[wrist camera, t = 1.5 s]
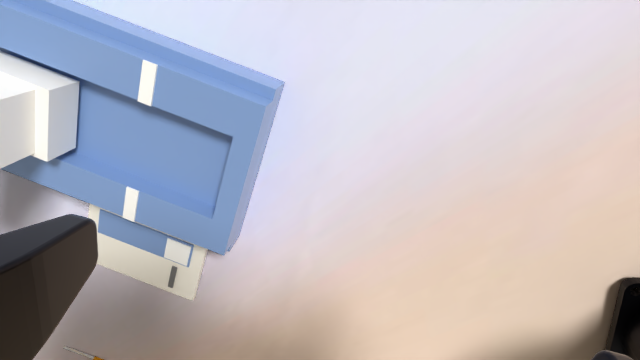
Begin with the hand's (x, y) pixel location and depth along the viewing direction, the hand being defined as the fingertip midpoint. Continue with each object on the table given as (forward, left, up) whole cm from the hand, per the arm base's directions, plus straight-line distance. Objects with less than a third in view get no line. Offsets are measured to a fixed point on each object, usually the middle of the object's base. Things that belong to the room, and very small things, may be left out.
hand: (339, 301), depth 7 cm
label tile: (-7, +14, -13) cm, 20 cm away
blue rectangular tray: (+1, +13, -13) cm, 18 cm away
